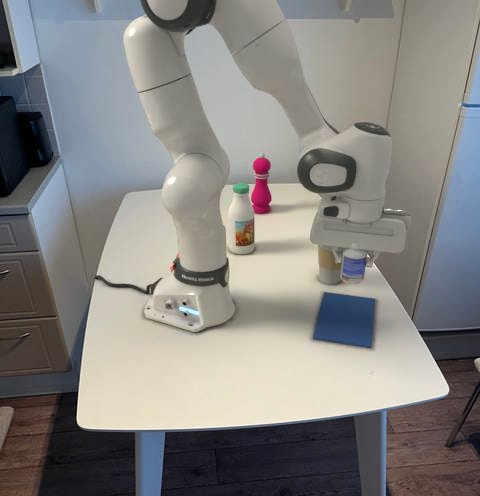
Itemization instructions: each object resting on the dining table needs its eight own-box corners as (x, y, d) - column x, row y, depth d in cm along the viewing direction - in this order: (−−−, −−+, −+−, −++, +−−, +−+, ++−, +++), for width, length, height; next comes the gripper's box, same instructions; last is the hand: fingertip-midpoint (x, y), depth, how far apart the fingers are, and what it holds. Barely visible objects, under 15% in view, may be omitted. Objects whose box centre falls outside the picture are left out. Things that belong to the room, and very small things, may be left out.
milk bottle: (226, 253, 147) (224, 189, 135) (232, 242, 153) (231, 179, 141) (251, 256, 145) (251, 191, 133) (256, 244, 151) (257, 181, 140)
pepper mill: (248, 207, 175) (248, 151, 163) (267, 205, 176) (268, 149, 165) (254, 215, 169) (255, 157, 157) (274, 213, 171) (276, 155, 159)
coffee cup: (346, 289, 130) (353, 238, 121) (310, 285, 131) (315, 235, 122) (347, 271, 137) (354, 222, 128) (313, 268, 139) (318, 219, 130)
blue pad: (313, 339, 112) (313, 337, 112) (324, 293, 128) (324, 291, 128) (370, 348, 110) (371, 346, 109) (374, 300, 125) (375, 298, 125)
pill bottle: (367, 283, 110) (373, 244, 104) (344, 285, 109) (349, 246, 103) (358, 271, 114) (363, 233, 109) (336, 273, 113) (340, 235, 108)
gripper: (413, 204, 102) (401, 263, 110) (315, 196, 106) (310, 253, 114) (413, 216, 97) (401, 277, 105) (310, 207, 101) (306, 265, 109)
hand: (353, 264), depth 110 cm, fingers closed on pill bottle, 5 cm apart
